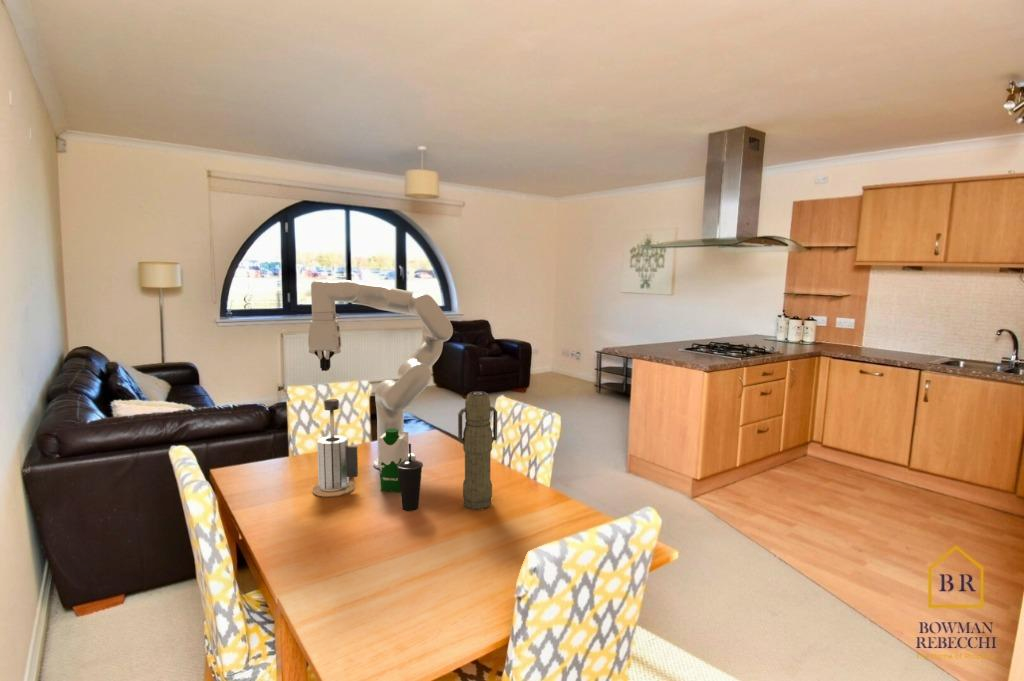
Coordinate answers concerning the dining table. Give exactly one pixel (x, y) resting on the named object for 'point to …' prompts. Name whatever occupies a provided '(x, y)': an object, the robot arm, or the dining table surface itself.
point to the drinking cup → (410, 482)
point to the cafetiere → (335, 466)
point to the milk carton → (392, 458)
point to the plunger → (331, 413)
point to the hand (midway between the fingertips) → (325, 370)
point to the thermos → (477, 449)
